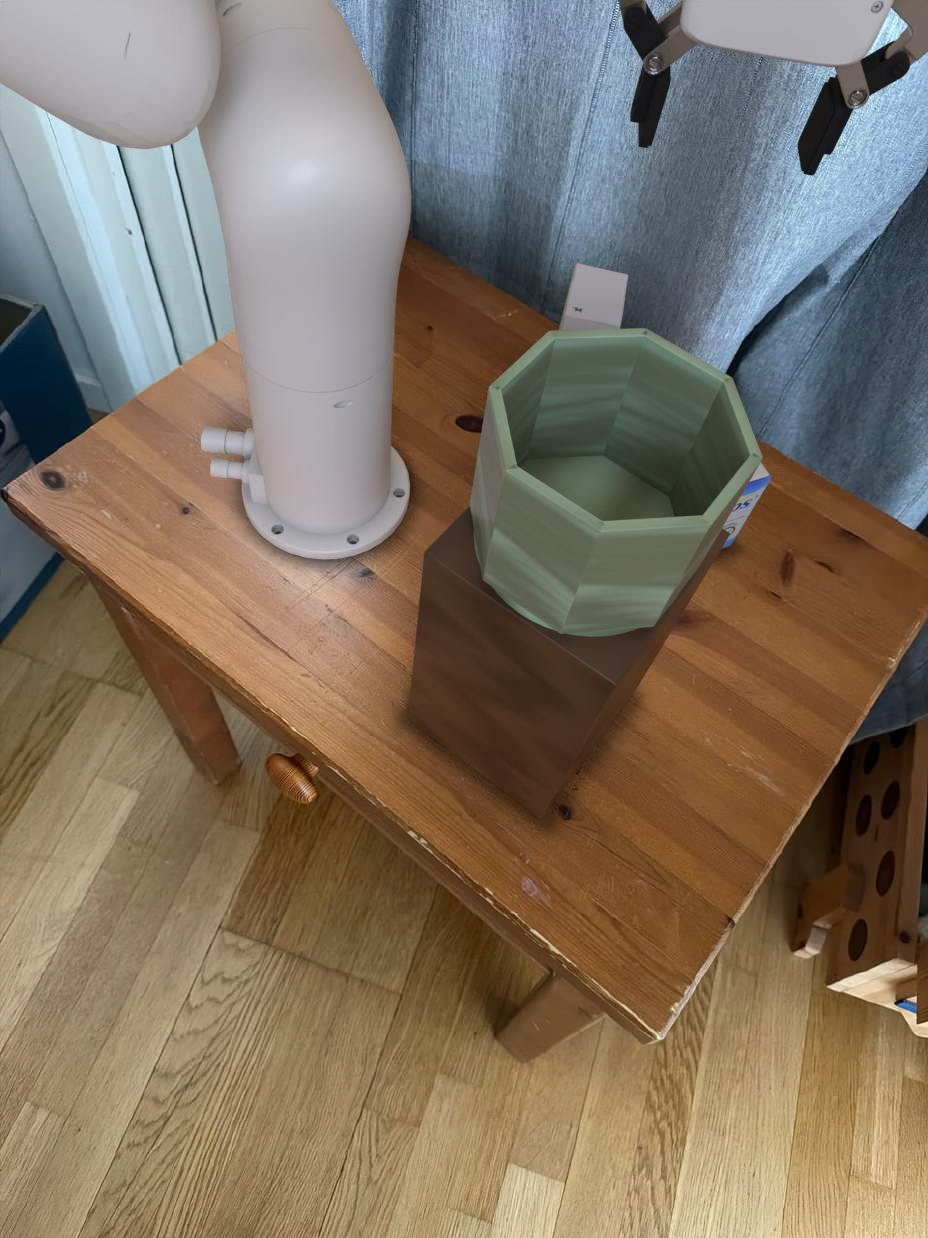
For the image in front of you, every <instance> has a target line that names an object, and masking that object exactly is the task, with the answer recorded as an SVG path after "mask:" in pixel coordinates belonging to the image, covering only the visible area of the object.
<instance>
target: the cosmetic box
mask: <svg viewBox="0 0 928 1238" xmlns="http://www.w3.org/2000/svg"><path fill="white" fill-rule="evenodd" d="M628 280H629V274H627V273H622V272H619V271H614V270H609V269H606V268H605V269H604V268H601V267H596V266H592V265H587V264H584V263H583V264H582V263H579V262H576V263H575V265H574V268H573V272H572V277H571V280H570V284H569V287H568V291H567V295H566V299H565V303H564V307H563V311H562V315H561V319H560V323H559V327H558V330H593V329H621V326H622V321H623V316H624V310H625V303H626V302H625V301H626V294H627V286H628Z"/></svg>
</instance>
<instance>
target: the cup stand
mask: <svg viewBox="0 0 928 1238" xmlns="http://www.w3.org/2000/svg"><path fill="white" fill-rule="evenodd" d="M486 395H487V396H486V402H485V407H484V412H483V413H484V414H483V419H482V420H483V421H482V426H481V433H480V437H479V438H480V439H479V444H478V451H477V455H476V456H477V457H476V461H475V462H476V463H475V469H474V474H473V475H474V476H473V482H472V488H471V492H470V493H471V494H470V499H469V505H468V507H467V508H466V509H465V510H464V511H463V512H462V513H461V514H459V516H458V517H457V518H456V519H455V520H454V521H453V522H452V523H451V524H450V525H449V526H448V527H447V528H446V529H445V530H444V531H443V532H442V533H441V534H440V535H439V536H438V537H437V538H436V539H435V540H434V541H433V542H432V543H431V544H430V545H429V546H428V547H427V548H426V550H424V552H423V558H422V567H421V568H422V569H421V578H420V589H419V600H418V610H417V619H416V630H415V640H414V648H413V649H414V650H413V658H412V659H413V661H412V670H411V671H412V672H411V679H410V680H411V681H410V691H409V701H408V712H407V720H408V721H409V722H411V723H412V724H413V725H414V726H416V727H417V728H419V729H420V730H421V731H423V732H424V733H425V734H426V735H428V736H429V737H430V738H432V739H433V740H434V741H435V742H436V743H438V744H440V745H441V746H443V748H445V749H446V750H448V751H449V752H450V753H452V754H453V755H454V756H455V757H457V758H458V759H459V760H461V761H462V762H463V763H465V764H466V765H468V766H469V767H470V768H472V769H473V770H474V771H475V772H477V773H478V774H479V775H481V776H482V777H483V778H485V779H486V780H487V781H489V782H490V783H492V784H493V785H494V786H495V787H497V788H498V789H499V790H501V791H502V792H503V793H505V794H506V795H507V796H508V797H510V798H511V799H512V800H514V801H515V802H516V803H518V804H519V805H521V806H522V807H523V808H525V810H527V811H528V812H530V813H531V814H532V815H534V816H535V817H536V818H538V819H539V820H543V818H544V817H545V816H546V815H547V813H548V812H549V810H550V809H551V807H552V806H553V805H554V803H556V801H557V800H558V798H559V797H560V796H561V794H562V793H563V792H564V790H565V789H566V787H567V786H568V785H569V783H570V782H571V780H572V779H573V778H574V776H575V775H576V773H577V772H578V771H579V769H581V767H582V765H583V764H584V763H585V762H586V760H587V759H588V757H589V756H590V755H591V754H592V752H593V750H594V749H595V748H596V746H597V745H598V744H599V743H600V742H601V740H602V738H603V737H604V736H605V735H606V733H607V732H608V731H609V728H610V727H611V726H612V725H613V724H614V722H615V721H616V719H618V717H619V715H621V712H623V710H624V709H625V707H626V706H627V704H628V703H629V702H630V701H631V699H632V697H633V695H634V694H635V692H636V691H637V689H638V688H639V686H640V684H641V683H642V681H643V678H644V677H645V676H646V674H647V673H648V671H649V669H650V668H651V666H652V664H653V663H654V661H655V659H656V658H657V656H658V654H659V653H660V651H661V649H662V648H663V646H664V644H665V643H666V641H667V639H668V638H669V636H670V635H671V633H672V631H673V630H674V628H675V626H676V625H677V623H678V621H679V620H680V618H681V617H682V615H683V613H684V611H685V610H686V608H687V607H688V605H689V603H690V602H691V600H692V598H693V597H694V596H695V594H696V591H697V590H698V589H699V587H700V586H701V584H702V582H703V581H704V578H705V577H706V575H707V574H708V571H709V570H710V569H711V567H712V566H713V564H714V562H715V560H717V557H718V555H719V554H720V552H721V551H722V550H723V548H722V547H723V546H724V544H725V542H726V541H727V539H728V537H729V536H730V533H729V532H727V531H726V530H724V529H723V528H722V527H723V526H724V524H725V522H726V521H727V519H728V517H729V515H730V514H731V512H732V510H733V509H734V507H735V505H736V503H737V502H738V500H739V498H740V497H741V495H742V493H743V492H744V490H745V488H746V486H747V485H748V483H749V481H750V480H751V478H752V476H753V475H754V473H755V471H756V469H757V468H758V466H759V464H760V463H762V461H763V454H762V451H761V449H760V446H759V444H758V441H757V438H756V436H755V433H754V430H753V428H752V425H751V423H750V420H749V417H748V414H747V413H746V410H745V407H744V404H743V402H742V399H741V397H740V393H739V391H738V388H737V386H736V384H735V381H734V378H733V377H732V376H730V375H729V374H727V373H726V372H725V373H724V372H723V371H721V370H720V369H718V368H716V367H715V366H713V365H711V364H709V363H708V362H706V361H704V360H702V359H700V358H699V357H697V356H696V355H693V354H692V353H690V352H689V351H687V350H685V349H683V348H682V347H679V346H678V345H676V344H674V343H672V341H669V340H668V339H666V338H664V337H663V336H660V335H659V334H658V333H655V332H654V331H652V330H650V329H648V328H646V327H641V328H639V327H637V328H633V327H632V328H620V329H593V330H559V329H558V330H556V329H555V330H548V331H546V333H545V334H544V335H542V336H541V338H539V339H538V340H537V341H536V342H535V343H534V344H533V345H531V347H530V348H529V349H528V350H526V351H525V352H524V353H523V354H522V355H521V356H520V357H519V358H518V359H517V360H516V361H514V362H513V363H512V364H511V365H510V366H509V367H508V368H507V369H506V370H505V371H504V372H503V373H502V374H500V376H498V377H497V378H496V379H495V380H494V381H493V382H492V383H491V384H489V386H488V389H487V394H486Z"/></svg>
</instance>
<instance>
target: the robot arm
mask: <svg viewBox="0 0 928 1238" xmlns="http://www.w3.org/2000/svg"><path fill="white" fill-rule="evenodd" d="M617 1H618V7H619V10H620V14H621V19H622V28H623V30H624V31H625V34H626V35H627V37H628V40H630V42H631V44H632V46H633V47H634V49H635V51H636V52H637V54H638V56H639V57H640V59H641V62H642V65H641V69H640V73H639V77H638V79H637V83H636V88H635V91H634V95H633V99H632V103H631V108H630V113H629V121H630V123H634V124H636V123H637V124H638V125H637V140H638V141H637V143H638V144H637V147H638V148H644V149H648V148H649V147H652V146H653V142H654V140H655V137H656V133H657V130H658V126H659V123H660V120H661V116H662V113H663V110H664V107H665V104H666V100H667V96H668V93H669V90H670V88H671V87H670V86H671V83H672V82H671V81H672V73H671V70H672V69H671V65H673V64H674V63H675V62H677V61H678V60H679V59H680V58H682V57H683V56H684V55H686V54H687V53H688V52H689V51H691V50H692V49H693V48H695V46H697V45H701V46H704V47H707V48H713V49H717V50H722V51H729V52H733V53H739V54H743V55H751V56H757V57H762V58H767V59H768V58H769V59H774V60H781V61H786V62H791V63H792V62H793V63H798V64H803V65H810V66H815V67H824V68H825V67H826V68H834V71H835V76H829V77H828V80H827V81H824V83H823V84H822V87H821V89H820V91H819V93H818V96H817V98H816V100H815V102H814V105H813V107H812V110H811V111H810V114H809V116H808V117H807V118H808V119H807V120H806V122H805V125H804V127H803V129H802V132H801V134H800V136H799V138H798V141H797V152H798V153H797V154H798V159H799V165H800V171H801V172H803V175H806V176H811V177H814V176H815V174H816V172H817V170H818V168H819V166H820V164H821V162H822V160H823V158H824V156H825V155H828V156H831V155H832V154H833V153H834V151H835V148H836V146H837V144H838V142H839V140H840V138H841V137H842V135H843V132H844V130H845V128H846V126H847V124H848V122H849V120H850V118H851V115H852V114H853V112H854V111H855V110H858V109H860V108H862V107H864V106H865V105H866V104H867V103H868V101H869V99H870V97H871V96H872V95H874V94H876V93H877V92H879V91H881V90H883V89H884V88H887V87H888V86H890V85H891V84H894V83H895V82H897V81H898V80H900V79H903V78H904V77H905V76H906V75H907V74H908V72H909V71H910V68H911V66H912V65H914V63H915V62H919V60H921V59H922V58H923V57H924V56H925V55H926V54H927V53H928V0H679V2H677V3H676V4H675V5H674V6H673V7H671V8H670V9H669V10H668V11H667V12H665V13H664V14H663V15H662V16H660V17H659V18H658V19H656V16H655V15H654V14H653V11H652V10H651V8H650V6H649V5H648V3H647V1H646V0H617ZM891 9H892V10H893V11H894V13H895V14H896V15H897V16H898V17H899V18H900V19H901V20H902V21H903V22H904V23H905V24H906V25H907V26H906V28H905V29H904V30H903V31H902V32H901V33H900V34H899V37H897V39H895V40H892V41H890V42H888V43H886V44H885V45H883V46H881V47H880V48H878V49H876V50H874V51H873V52H871V53H869V52H870V51H871V48H872V47H873V45H874V43H875V42H876V40H877V38H878V36H879V34H880V32H881V30H882V28H883V26H884V24H885V22H886V19H887V17H888V15H889V12H890V10H891ZM868 53H869V54H868ZM867 54H868V55H867ZM0 85H3V86H5V87H6V88H7V89H9V90H11V91H12V92H14V93H16V94H18V95H19V96H21V97H22V98H24V99H25V100H27V101H29V102H31V103H32V104H33V105H35V106H37V107H38V108H40V109H42V111H45V112H47V113H48V114H49V115H51V116H53V117H55V118H57V119H59V120H60V121H62V122H64V123H65V124H67V125H69V126H70V127H71V128H72V127H73V128H74V129H76V130H78V131H79V132H81V133H83V134H85V135H86V136H89V137H92V138H93V139H96V140H99V141H101V142H105V143H108V144H111V145H115V146H118V147H121V148H127V149H135V150H137V149H138V150H151V149H157V148H163V147H167V146H171V145H173V144H175V143H177V142H179V141H181V140H182V139H183V140H184V138H187V136H189V135H190V134H191V133H192V132H193V131H194V130H195V129H196V128H197V132H198V137H199V143H200V146H201V149H202V152H203V156H204V160H205V164H206V166H207V170H208V175H209V177H210V182H211V186H212V190H213V195H214V199H215V203H216V207H217V213H218V218H219V223H220V227H221V233H222V238H223V243H224V244H223V245H224V250H225V258H226V268H227V276H228V277H227V278H228V285H229V292H230V299H231V300H230V301H231V305H232V306H231V307H232V313H233V315H232V316H233V320H234V326H235V332H236V333H235V334H236V338H237V345H238V349H239V351H240V357H241V363H242V369H243V376H244V382H245V387H246V388H245V389H246V393H247V399H248V400H247V401H248V406H249V414H250V418H251V425H252V427H247V429H246V430H245V432H244V431H238V430H231V429H230V428H226V427H220V426H212V425H204V426H203V428H202V430H201V435H200V448H201V451H202V452H204V453H210V454H211V453H212V454H219V455H235V456H242V457H243V459H244V461H243V462H241V461H234V460H232V459H225V458H219V457H212V458H211V460H210V465H209V473H210V476H211V477H213V478H219V479H228V480H229V479H234V480H241V487H240V488H241V496H242V502H243V506H244V511H245V513H246V516H247V517H248V519H249V521H250V524H251V525H252V526H253V528H254V529H255V530H256V531H257V532H258V533H259V534H260V536H262V538H263V539H265V540H266V541H268V542H269V543H270V544H272V545H273V546H274V547H276V548H278V549H280V550H283V551H284V552H286V553H289V554H291V555H296V556H298V557H302V558H305V559H306V558H307V559H313V560H314V559H316V560H339V559H345V558H349V557H354V556H357V555H359V554H362V553H365V552H368V551H370V550H372V549H373V548H375V547H377V546H379V545H381V544H382V543H383V542H385V541H386V540H387V539H388V538H389V537H390V536H392V535H393V534H394V532H395V531H396V530H397V529H398V527H399V526H400V525H401V523H402V522H403V519H404V517H405V516H406V513H407V511H408V508H409V503H410V496H411V494H410V493H411V481H410V475H409V471H408V469H407V466H406V463H405V461H404V459H403V458H402V456H401V454H399V452H398V450H396V448H395V447H394V446H392V423H393V421H392V420H393V395H394V393H393V392H394V391H393V390H394V366H395V365H394V362H395V332H396V331H395V330H396V309H397V308H396V306H397V293H398V285H399V284H398V282H399V276H400V270H401V265H402V261H403V257H404V252H405V248H406V244H407V240H408V239H407V238H408V235H409V232H410V231H409V230H410V226H411V225H410V224H411V216H412V191H411V189H412V188H411V182H410V175H409V170H408V165H407V161H406V157H405V153H404V150H403V147H402V144H401V141H400V138H399V135H398V133H397V130H396V126H395V125H394V122H393V120H392V117H391V115H390V113H389V111H388V109H387V106H386V104H385V102H384V100H383V98H382V96H381V94H380V92H379V89H378V87H377V85H376V83H375V80H374V77H373V76H372V74H371V71H370V70H369V69H368V66H367V65H366V63H365V60H364V58H363V56H362V54H361V51H360V49H359V47H358V45H357V43H356V41H355V38H354V36H353V34H352V32H351V30H350V29H349V26H348V25H347V23H346V21H345V19H344V17H343V15H342V13H341V12H340V10H339V9H338V6H336V4H335V2H334V1H333V0H0Z"/></svg>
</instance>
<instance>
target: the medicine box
mask: <svg viewBox="0 0 928 1238" xmlns="http://www.w3.org/2000/svg"><path fill="white" fill-rule="evenodd" d="M770 481H772V476H771V475H770V473H769V471H768V470H767V469H766V467H765V465H764V464H763V463H762V462H761V463H760V464H759V466H758V468H757V469H756V471H755V473H754V475H753V476H752V478H751V480H750V481H749V483H748V485H747V486H746V488H745V490H744V492H743V493H742V495H741V497H740V498H739V500H738V502H737V503H736V505H735V507H734V509H733V510H732V512H731V514H730V515H729V517H728V519H727V521H726V522H725V524H724V526H723V527H722V528H723V529H724V530H726V531H727V532H729V533H730V536H729V537H728V539H727V541H726V542H725V544H724V546H723V547H722V549H725V548H728V547H730V546H731V545H733V543H734V541H735V539H736V537H737V536H738V534H739V533H740V531H741V529H742V528H743V526H744V524H745V522H746V521H747V519H748V518H749V516H750V515H751V513H752V511H753V510H754V508H755V506H756V504H757V503H758V502H759V500H760V498H761V496H762V495H763V493H764V492H765V490H766V488H767V486H768V485H769V483H770Z"/></svg>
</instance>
